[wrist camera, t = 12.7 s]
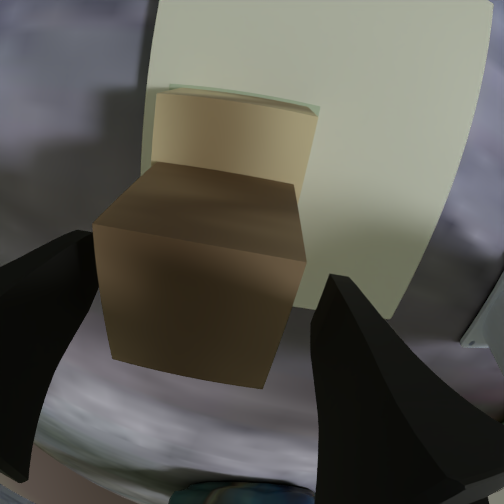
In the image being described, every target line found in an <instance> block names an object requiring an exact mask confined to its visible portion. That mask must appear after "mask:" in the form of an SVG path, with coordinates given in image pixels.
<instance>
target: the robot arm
mask: <svg viewBox="0 0 504 504" xmlns="http://www.w3.org/2000/svg"><path fill="white" fill-rule="evenodd" d="M98 288H99V282H98V275H97V267H96V259H95V249H94V239H93V232H87V231H81V230H75V231H72V232H70V233H67V234H65V235H63V236H61V237H59V238H57V239H55V240H53V241H51V242H49V243H47V244H45V245H43V246H41V247H39V248H37V249H35V250H33V251H31V252H29V253H27V254H26V255H24V256H22V257H20V258H18V259H16V260H14V261H12V262H10V263H8V264H6V265H4V266H2V267H0V472H1V473H3V474H4V475H6V476H8V477H9V478H11V479H13V480H15V481H17V482H18V483H22V482H25V481H27V480H28V478H29V467H30V460H31V452H32V446H33V441H34V437H35V432H36V428H37V423H38V420H39V416H40V413H41V409H42V406H43V403H44V399H45V396H46V394H47V391H48V388H49V385H50V383H51V380H52V377H53V375H54V372H55V370H56V368H57V366H58V364H59V362H60V360H61V358H62V357H63V355H64V353H65V351H66V349H67V348H68V346H69V344H70V342H71V340H72V339H73V337H74V335H75V334H76V332H77V330H78V328H79V327H80V325H81V323H82V321H83V320H84V318H85V316H86V314H87V313H88V311H89V309H90V307H91V304H92V302H93V300H94V297H95V295H96V293H97V290H98ZM460 344H461V346H462V347H467V348H490V350H491V352H492V354H493V356H494V358H495V360H496V362H497V364H498V366H499V368H500V370H501V372H502V374H503V376H504V271H503V273H502V275H501V277H500V278H499V280H498V282H497V284H496V285H495V287H494V289H493V291H492V292H491V294H490V296H489V297H488V299H487V301H486V302H485V304H484V305H483V307H482V309H481V310H480V312H479V313H478V315H477V316H476V318H475V319H474V321H473V322H472V324H471V325H470V327H469V328H468V330H467V331H466V333H465V334H464V336H463V337H462V338H461V340H460ZM310 350H311V361H312V369H313V377H314V385H315V394H316V402H317V411H318V424H319V441H318V468H317V483H316V493H315V502H314V504H489V501H488V496H489V495H491V494H493V493H494V492H496V491H498V490H499V489H501V488H503V487H504V425H503V424H501V423H499V422H497V421H496V420H494V419H492V418H491V417H489V416H488V415H486V414H485V413H484V412H482V411H481V410H479V409H478V408H476V407H475V406H473V405H472V404H471V403H469V402H468V401H467V400H465V399H464V398H463V397H462V396H460V395H459V394H458V393H457V392H455V391H454V390H453V389H452V388H451V387H449V386H448V385H447V384H446V383H445V382H444V381H442V380H441V379H440V378H439V377H438V376H437V375H436V374H435V373H434V372H433V371H432V370H430V369H429V368H428V367H427V366H426V365H425V364H424V363H423V362H422V361H421V360H420V359H419V358H418V357H417V356H416V355H415V354H414V353H413V352H412V351H411V350H410V348H409V347H408V346H407V345H406V344H405V343H404V342H403V341H402V339H401V338H400V337H399V336H398V335H397V334H396V333H395V332H394V330H393V329H392V328H391V327H390V326H389V325H388V323H387V322H386V321H385V320H384V319H383V317H382V316H381V315H380V314H379V312H378V311H377V310H376V309H375V307H374V306H373V305H372V304H371V302H370V301H369V300H368V299H367V298H366V296H365V295H364V294H363V293H362V291H361V290H360V289H359V288H358V286H357V285H356V284H355V283H354V282H353V281H352V280H351V279H350V277H348V276H342V275H336V274H330V273H329V276H328V279H327V282H326V284H325V287H324V290H323V292H322V295H321V298H320V300H319V303H318V306H317V308H316V311H315V313H314V316H313V318H312V321H311V332H310ZM0 504H35V503H33V502H31V501H29V500H27V499H26V498H24V497H22V496H20V495H18V494H16V493H15V492H13V491H11V490H10V489H8V488H6V487H4V486H3V485H1V484H0Z"/></svg>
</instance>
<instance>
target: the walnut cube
mask: <svg viewBox="0 0 504 504" xmlns="http://www.w3.org/2000/svg"><path fill="white" fill-rule="evenodd" d="M92 227H93V239H94V249H95V259H96V267H97V275H98V282H99V289H100V296H101V302H102V309H103V314H104V320H105V325H106V331H107V336H108V341H109V346H110V350H111V355H112V359H115V360H118V361H122V362H126V363H130V364H133V365H137V366H141V367H145V368H150V369H154V370H158V371H162V372H167V373H171V374H176V375H181V376H186V377H191V378H196V379H201V380H206V381H212V382H218V383H224V384H230V385H236V386H243V387H250V388H257V389H263V387H264V384H265V382H266V379H267V376H268V373H269V371H270V368H271V365H272V363H273V360H274V357H275V354H276V352H277V349H278V346H279V343H280V340H281V338H282V335H283V332H284V329H285V326H286V323H287V321H288V318H289V315H290V312H291V309H292V306H293V303H294V300H295V297H296V294H297V291H298V288H299V285H300V282H301V279H302V276H303V273H304V270H305V267H306V263H307V260H306V254H305V247H304V241H303V235H302V229H301V223H300V217H299V211H298V205H297V199H296V194H295V188H294V184H290V183H285V182H280V181H275V180H269V179H264V178H259V177H253V176H248V175H242V174H237V173H231V172H225V171H219V170H213V169H207V168H200V167H194V166H187V165H180V164H173V163H166V162H158V161H157V162H156V163H155V164H154V165H153V166H152V167H151V168H149V169H148V170H147V171H146V172H145V173H144V174H143V175H142V176H141V177H140V178H138V179H137V180H136V181H135V182H134V183H133V184H132V185H131V186H130V187H129V188H128V189H127V190H126V191H125V192H124V193H122V194H121V195H120V196H119V197H118V198H117V199H116V200H115V201H114V202H113V203H112V204H111V205H110V206H109V207H108V208H107V209H106V210H105V211H104V212H103V213H102V214H101V215H100V216H99V217H98V218H97V219H96V220H95V221H94V222H93V223H92Z"/></svg>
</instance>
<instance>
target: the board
mask: <svg viewBox="0 0 504 504" xmlns="http://www.w3.org/2000/svg"><path fill="white" fill-rule="evenodd" d="M492 14H493V3H491V2H490V1H488V0H160V1H159V6H158V11H157V17H156V23H155V29H154V35H153V41H152V48H151V55H150V63H149V71H148V79H147V88H146V98H145V109H144V121H143V135H142V153H141V176H142V175H143V174H144V173H145V172H146V171H147V170H148V169H149V168H151V155H152V140H153V127H154V116H155V105H156V96H157V93H160V92H164V91H168V90H173V89H177V88H192V89H202V90H211V91H219V92H227V93H234V94H241V95H248V96H254V97H260V98H266V99H271V100H277V101H282V102H287V103H292V104H297V105H302V106H306V107H308V108H310V109H311V110H312V111H313V112H314V113H315V114H316V115H317V116H318V121H317V126H316V130H315V134H314V139H313V143H312V147H311V152H310V156H309V160H308V164H307V169H306V173H305V177H304V181H303V185H302V189H301V193H300V198H299V202H298V211H299V217H300V223H301V229H302V235H303V241H304V247H305V254H306V260H307V263H306V267H305V270H304V273H303V276H302V279H301V282H300V285H299V288H298V291H297V294H296V297H295V300H294V303H293V307H299V308H306V309H313V310H316V308H317V306H318V303H319V300H320V298H321V295H322V292H323V290H324V287H325V284H326V282H327V279H328V276H329V273H330V274H336V275H342V276H348V277H350V279H351V280H352V281H353V282H354V283H355V284H356V285H357V286H358V288H359V289H360V290H361V291H362V293H363V294H364V295H365V296H366V298H367V299H368V300H369V301H370V302H371V304H372V305H373V306H374V307H375V309H376V310H377V311H378V312H379V314H380V315H381V316H382V317H383V318H384V319H391V317H392V316H393V314H394V312H395V310H396V308H397V306H398V305H399V303H400V301H401V299H402V297H403V295H404V293H405V291H406V289H407V287H408V285H409V283H410V281H411V279H412V277H413V275H414V273H415V271H416V269H417V267H418V265H419V263H420V261H421V259H422V256H423V254H424V252H425V250H426V248H427V245H428V243H429V241H430V239H431V236H432V234H433V232H434V229H435V227H436V225H437V222H438V220H439V217H440V215H441V213H442V210H443V207H444V205H445V202H446V200H447V197H448V194H449V192H450V189H451V186H452V184H453V181H454V178H455V175H456V172H457V169H458V166H459V163H460V160H461V157H462V154H463V151H464V148H465V145H466V141H467V138H468V135H469V131H470V128H471V124H472V120H473V117H474V113H475V109H476V105H477V101H478V97H479V92H480V88H481V83H482V79H483V74H484V69H485V63H486V58H487V52H488V45H489V39H490V32H491V24H492Z"/></svg>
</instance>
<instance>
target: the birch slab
mask: <svg viewBox="0 0 504 504" xmlns="http://www.w3.org/2000/svg"><path fill="white" fill-rule="evenodd" d="M317 121H318V116H317V115H316V114H315V113H314V112H313V111H312V110H311V109H310V108H308V107H306V106H302V105H297V104H292V103H287V102H282V101H277V100H271V99H266V98H260V97H254V96H248V95H241V94H234V93H227V92H219V91H211V90H202V89H192V88H177V89H173V90H168V91H164V92H160V93H157V96H156V105H155V116H154V127H153V140H152V155H151V167H152V166H153V165H154V164H155V163H156V162H157V161H158V162H166V163H173V164H180V165H187V166H194V167H200V168H207V169H213V170H219V171H225V172H231V173H237V174H242V175H248V176H253V177H259V178H264V179H269V180H275V181H280V182H285V183H290V184H294V188H295V194H296V199H297V205H298V202H299V198H300V193H301V189H302V185H303V181H304V177H305V173H306V169H307V164H308V160H309V156H310V152H311V147H312V143H313V139H314V134H315V130H316V126H317Z"/></svg>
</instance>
